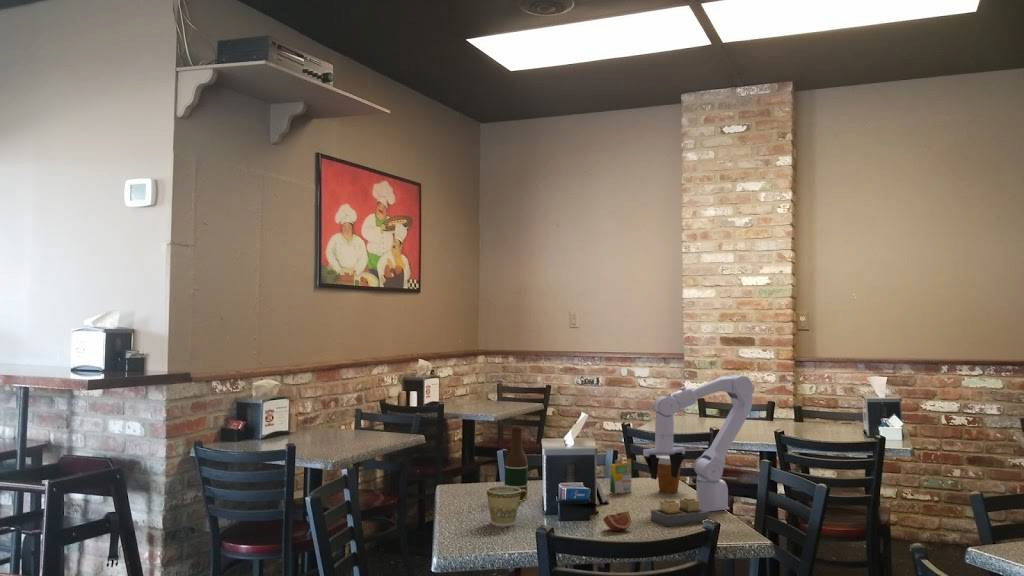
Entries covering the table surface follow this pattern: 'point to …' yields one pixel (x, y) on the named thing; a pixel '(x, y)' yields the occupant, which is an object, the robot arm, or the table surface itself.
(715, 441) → the robot arm
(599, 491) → the hinge
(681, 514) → the tray
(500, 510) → the ceramic cup
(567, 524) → the table surface
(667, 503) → the beige small block
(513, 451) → the beer bottle
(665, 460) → the disposable coffee cup
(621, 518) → the fruit slice
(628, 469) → the crayon box
